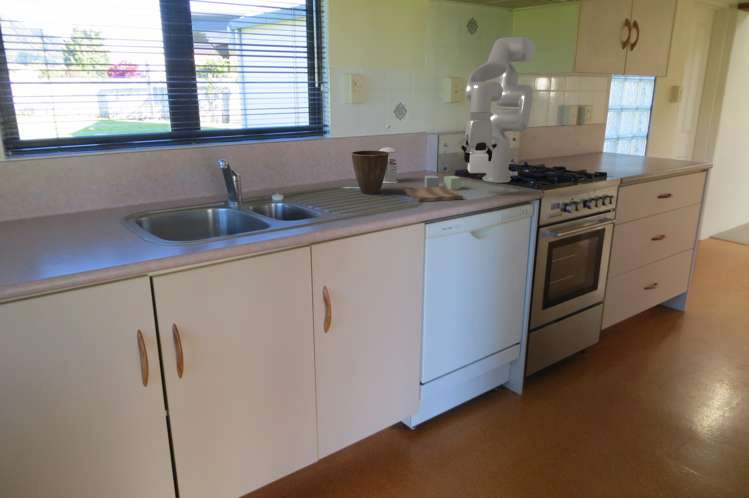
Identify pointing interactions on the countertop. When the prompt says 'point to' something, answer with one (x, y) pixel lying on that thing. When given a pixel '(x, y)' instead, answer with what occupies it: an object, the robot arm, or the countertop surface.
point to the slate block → (431, 181)
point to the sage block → (452, 182)
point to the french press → (390, 166)
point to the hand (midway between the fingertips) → (477, 161)
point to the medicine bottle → (478, 159)
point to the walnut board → (433, 194)
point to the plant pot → (370, 169)
